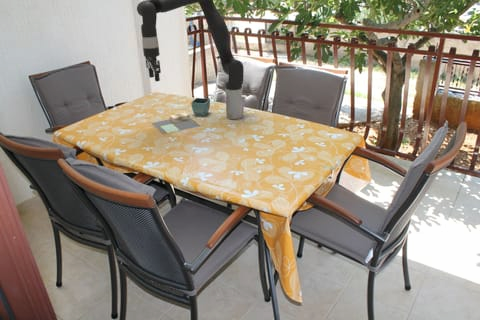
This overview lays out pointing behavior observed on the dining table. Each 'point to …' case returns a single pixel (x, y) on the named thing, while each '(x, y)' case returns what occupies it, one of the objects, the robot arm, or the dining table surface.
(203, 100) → the flower pot
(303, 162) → the dining table surface
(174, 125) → the mat
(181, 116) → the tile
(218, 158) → the dining table surface
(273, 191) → the dining table surface
